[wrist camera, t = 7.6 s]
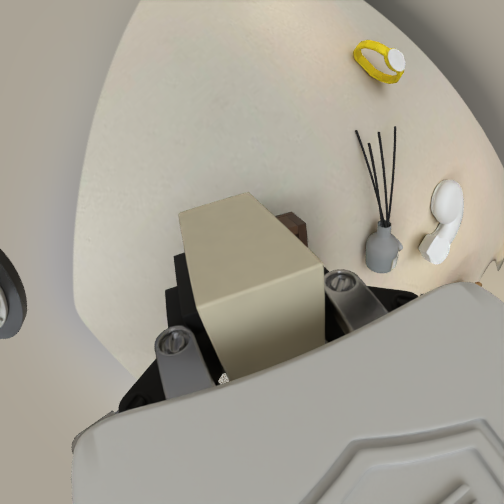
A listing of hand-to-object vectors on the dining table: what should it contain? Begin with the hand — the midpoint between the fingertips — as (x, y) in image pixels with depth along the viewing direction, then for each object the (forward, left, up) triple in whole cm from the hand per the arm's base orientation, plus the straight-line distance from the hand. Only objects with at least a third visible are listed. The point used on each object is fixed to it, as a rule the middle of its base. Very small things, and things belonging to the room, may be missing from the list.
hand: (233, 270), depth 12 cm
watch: (+22, +11, -17) cm, 30 cm away
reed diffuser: (+22, -7, -17) cm, 29 cm away
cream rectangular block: (0, 0, -1) cm, 1 cm away
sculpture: (+38, -14, -17) cm, 44 cm away
